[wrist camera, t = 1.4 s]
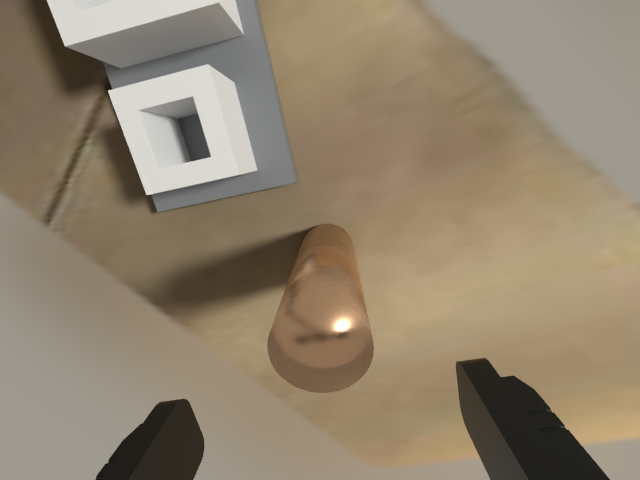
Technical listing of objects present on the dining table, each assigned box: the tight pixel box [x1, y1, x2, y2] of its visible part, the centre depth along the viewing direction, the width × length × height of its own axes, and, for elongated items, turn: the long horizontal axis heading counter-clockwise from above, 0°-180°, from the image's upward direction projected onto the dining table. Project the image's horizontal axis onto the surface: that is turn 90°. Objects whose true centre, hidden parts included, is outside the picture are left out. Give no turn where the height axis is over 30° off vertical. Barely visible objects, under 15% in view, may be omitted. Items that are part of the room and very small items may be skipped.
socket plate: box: [47, 0, 298, 212], centre depth 17 cm, size 10×17×6 cm, turn 12°
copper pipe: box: [268, 224, 374, 393], centre depth 17 cm, size 4×4×12 cm
